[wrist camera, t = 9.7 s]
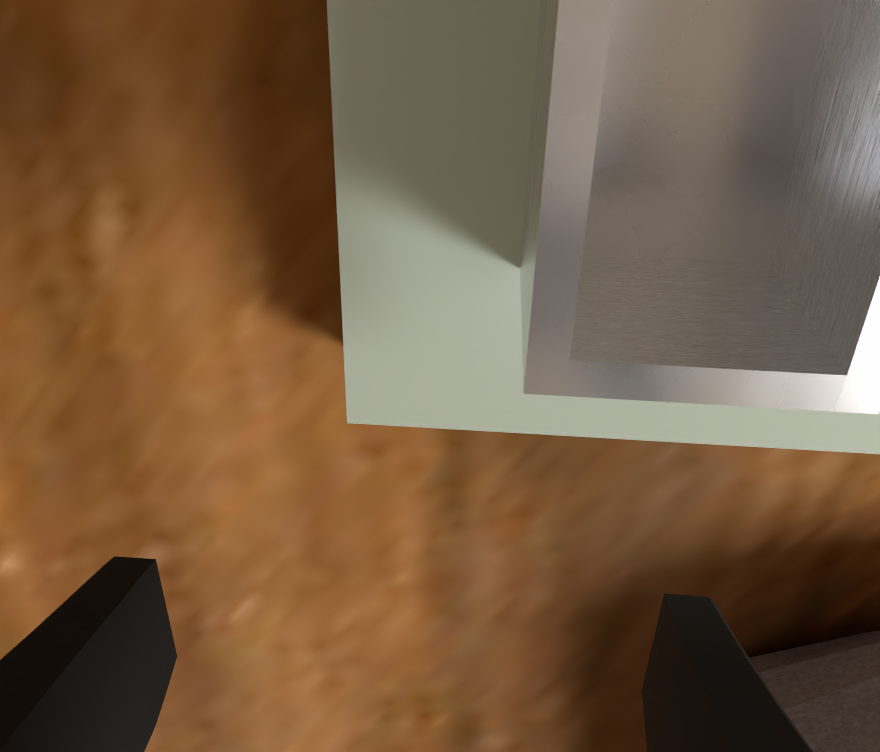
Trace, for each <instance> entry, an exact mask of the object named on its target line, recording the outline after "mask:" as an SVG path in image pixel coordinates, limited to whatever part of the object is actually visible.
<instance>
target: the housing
mask: <svg viewBox="0 0 880 752" xmlns="http://www.w3.org/2000/svg"><path fill="white" fill-rule="evenodd" d="M520 288H521V323H522V357H523V391H524V394H535V395H553V396H570V397H588V398H605V399H622V400H640V401H657V402H674V403H692V404H709V405H727V406H744V407H761V408H779V409H796V410H814V411H831V412H848V413H866V414H879V411H880V0H541V9H540V22H539V35H538V47H537V60H536V72H535V85H534V97H533V110H532V123H531V135H530V148H529V160H528V173H527V186H526V198H525V211H524V223H523V236H522V249H521V261H520Z"/></svg>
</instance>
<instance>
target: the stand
mask: <svg viewBox="0 0 880 752" xmlns="http://www.w3.org/2000/svg"><path fill="white" fill-rule="evenodd" d="M540 9H541V0H327V16H328V36H329V57H330V78H331V99H332V119H333V140H334V161H335V182H336V202H337V223H338V244H339V265H340V285H341V306H342V327H343V348H344V368H345V389H346V410H347V423H355V424H373V425H390V426H407V427H424V428H441V429H458V430H475V431H492V432H510V433H527V434H544V435H561V436H578V437H595V438H612V439H629V440H646V441H664V442H681V443H698V444H715V445H732V446H749V447H766V448H783V449H801V450H818V451H835V452H852V453H869V454H880V411H879V414H866V413H848V412H831V411H814V410H796V409H779V408H761V407H744V406H727V405H709V404H692V403H674V402H657V401H640V400H622V399H605V398H588V397H570V396H553V395H535V394H524V391H523V357H522V323H521V288H520V261H521V249H522V236H523V223H524V211H525V198H526V186H527V173H528V160H529V148H530V135H531V123H532V110H533V97H534V85H535V72H536V60H537V47H538V35H539V22H540Z"/></svg>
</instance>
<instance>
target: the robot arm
mask: <svg viewBox="0 0 880 752" xmlns="http://www.w3.org/2000/svg"><path fill="white" fill-rule="evenodd" d="M176 658H177V653H176V649H175V644H174V640H173V635H172V631H171V626H170V622H169V617H168V613H167V608H166V604H165V599H164V595H163V590H162V586H161V581H160V577H159V572H158V568H157V563H156V559H144V558H129V557H113V558H112V559H111V560H110V561H109V562H108V563H106V564H105V565H104V566H103V567H102V568H101V569H100V570H99V571H97V572H96V573H95V574H94V575H93V576H92V577H91V578H90V579H89V580H88V581H87V582H85V583H84V584H83V585H82V586H81V587H80V588H79V589H78V590H77V591H76V592H75V593H74V594H72V595H71V596H70V597H69V598H68V599H67V600H66V601H65V602H64V603H63V604H62V605H61V606H60V607H58V608H57V609H56V610H55V611H54V612H53V613H52V614H51V615H50V616H49V617H48V618H46V619H45V620H44V621H43V622H42V623H41V624H40V625H39V626H38V627H37V628H36V629H35V630H33V631H32V632H31V633H30V634H29V635H28V636H27V637H26V638H25V639H23V640H22V641H21V642H20V643H19V644H18V645H17V646H16V647H14V648H13V649H12V650H11V651H10V652H9V653H8V654H7V655H5V656H4V657H3V658H2V659H1V660H0V752H144V751H145V749H146V746H147V744H148V742H149V739H150V737H151V735H152V733H153V730H154V728H155V725H156V722H157V719H158V716H159V713H160V710H161V707H162V704H163V701H164V698H165V695H166V692H167V688H168V685H169V682H170V678H171V675H172V672H173V668H174V665H175V662H176ZM642 696H643V707H644V718H645V729H646V738H647V748H648V752H813V750H812V749H811V748H810V746H809V745H808V743H807V742H806V741H805V739H804V738H803V736H802V735H801V734H800V732H799V731H798V729H797V728H796V727H795V725H794V724H793V722H792V721H791V720H790V718H789V717H788V715H787V714H786V712H785V711H784V710H783V708H782V707H781V705H780V704H779V702H778V701H777V700H776V698H775V697H774V695H773V694H772V692H771V691H770V689H769V688H768V686H767V685H766V683H765V682H764V680H763V679H762V677H761V676H760V674H759V673H758V671H757V670H756V668H755V667H754V665H753V663H752V662H751V660H750V659H749V657H748V656H747V654H746V653H745V651H744V649H743V648H742V646H741V645H740V643H739V642H738V640H737V638H736V637H735V635H734V634H733V632H732V630H731V629H730V627H729V625H728V624H727V622H726V621H725V619H724V617H723V616H722V614H721V612H720V611H719V609H718V607H717V606H716V604H715V603H714V602H713V601H712V600H711V599H710V597H702V596H687V595H672V594H664V598H663V602H662V606H661V611H660V615H659V619H658V624H657V628H656V632H655V637H654V641H653V645H652V650H651V654H650V659H649V663H648V667H647V672H646V676H645V680H644V685H643V689H642Z"/></svg>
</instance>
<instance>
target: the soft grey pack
mask: <svg viewBox="0 0 880 752" xmlns="http://www.w3.org/2000/svg"><path fill="white" fill-rule="evenodd" d="M749 659H750V660H751V662H752V663H753V665H754V667H755V668H756V670H757V671H758V673H759V674H760V676H761V677H762V679H763V680H764V682H765V683H766V685H767V686H768V688H769V689H770V691H771V692H772V694H773V695H774V697H775V698H776V700H777V701H778V702H779V704H780V705H781V707H782V708H783V710H784V711H785V712H786V714H787V715H788V717H789V718H790V720H791V721H792V722H793V724H794V725H795V727H796V728H797V729H798V731H799V732H800V734H801V735H802V736H803V738H804V739H805V741H806V742H807V743H808V745H809V746H810V748H811V749H812V750H813V752H880V631H873V632H867V633H862V634H857V635H852V636H848V637H843V638H838V639H834V640H829V641H824V642H820V643H815V644H810V645H806V646H801V647H796V648H792V649H787V650H782V651H778V652H773V653H768V654H764V655H759V656H754V657H750V658H749Z"/></svg>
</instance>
